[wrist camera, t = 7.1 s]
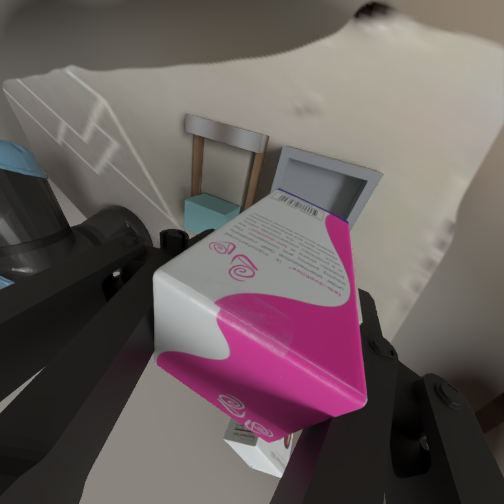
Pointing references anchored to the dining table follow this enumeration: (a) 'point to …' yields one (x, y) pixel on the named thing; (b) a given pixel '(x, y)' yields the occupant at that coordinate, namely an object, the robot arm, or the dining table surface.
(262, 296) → the supplement box
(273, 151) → the dining table surface
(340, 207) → the tray
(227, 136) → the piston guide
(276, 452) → the supplement box
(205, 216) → the block
